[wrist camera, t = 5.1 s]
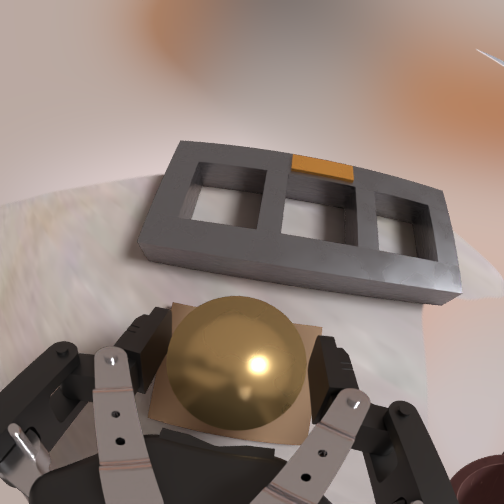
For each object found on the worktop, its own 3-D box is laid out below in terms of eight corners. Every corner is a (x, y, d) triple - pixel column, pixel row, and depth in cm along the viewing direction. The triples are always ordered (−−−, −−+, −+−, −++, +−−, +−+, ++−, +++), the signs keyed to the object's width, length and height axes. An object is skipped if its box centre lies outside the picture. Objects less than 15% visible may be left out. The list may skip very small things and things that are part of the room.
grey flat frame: (148, 261, 21) (135, 239, 18) (185, 164, 25) (180, 137, 22) (441, 305, 20) (464, 292, 17) (427, 208, 25) (444, 188, 22)
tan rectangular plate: (152, 416, 16) (147, 417, 15) (175, 306, 19) (172, 302, 19) (302, 442, 15) (306, 445, 15) (318, 330, 19) (322, 327, 18)
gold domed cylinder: (198, 400, 16) (153, 412, 7) (210, 340, 18) (184, 284, 9) (263, 412, 16) (294, 439, 7) (273, 351, 17) (314, 308, 9)
